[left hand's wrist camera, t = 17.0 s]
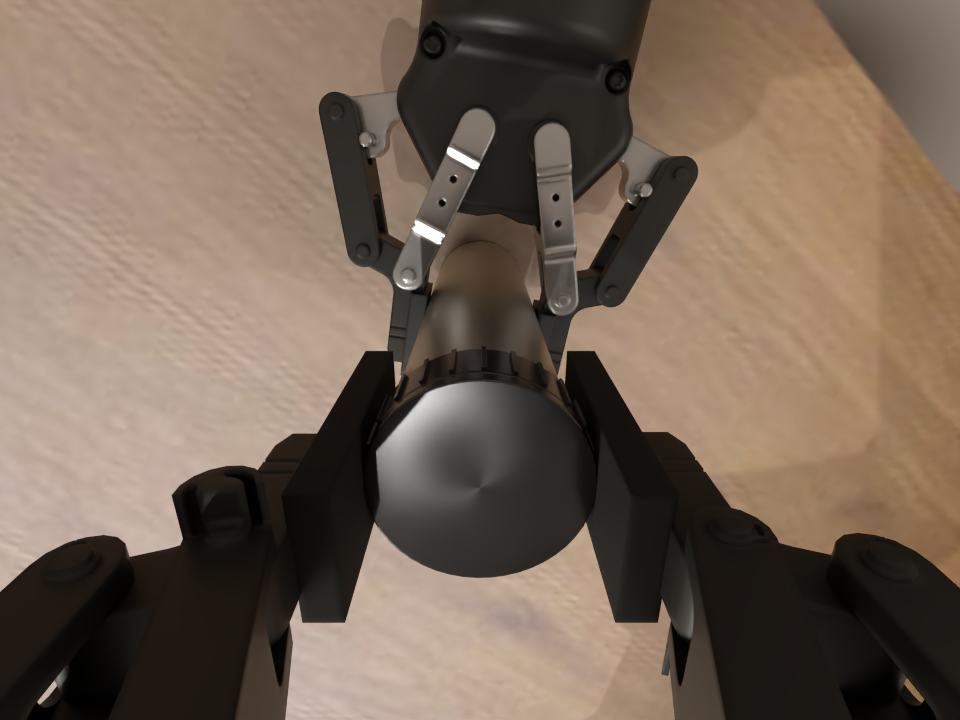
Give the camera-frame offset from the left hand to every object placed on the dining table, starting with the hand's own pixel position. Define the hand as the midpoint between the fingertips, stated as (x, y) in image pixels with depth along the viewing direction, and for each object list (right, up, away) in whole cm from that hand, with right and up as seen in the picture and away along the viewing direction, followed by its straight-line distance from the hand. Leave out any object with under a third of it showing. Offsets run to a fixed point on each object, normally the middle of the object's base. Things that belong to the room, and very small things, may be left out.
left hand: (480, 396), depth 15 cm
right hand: (0, 0, +8) cm, 8 cm away
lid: (0, -1, -4) cm, 4 cm away
